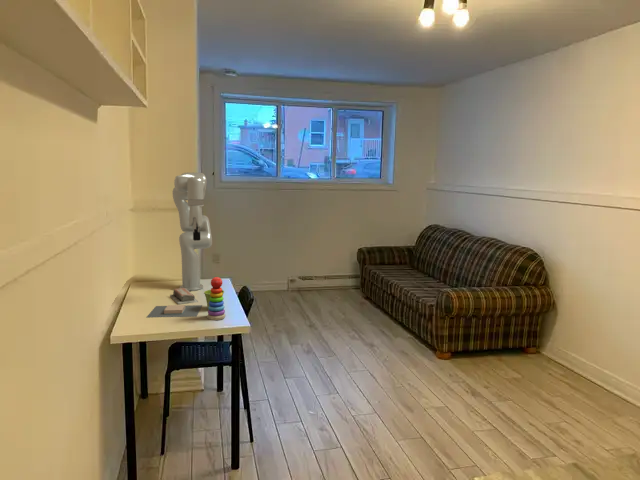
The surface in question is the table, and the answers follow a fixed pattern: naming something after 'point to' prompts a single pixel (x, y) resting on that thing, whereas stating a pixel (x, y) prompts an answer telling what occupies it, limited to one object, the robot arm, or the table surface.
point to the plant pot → (207, 294)
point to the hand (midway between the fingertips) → (196, 240)
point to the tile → (174, 309)
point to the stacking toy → (216, 300)
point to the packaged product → (183, 296)
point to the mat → (189, 312)
